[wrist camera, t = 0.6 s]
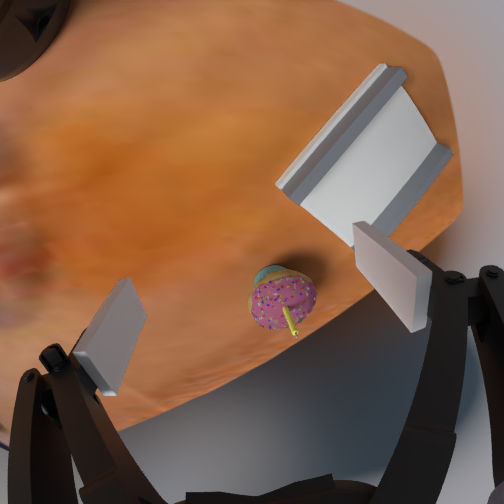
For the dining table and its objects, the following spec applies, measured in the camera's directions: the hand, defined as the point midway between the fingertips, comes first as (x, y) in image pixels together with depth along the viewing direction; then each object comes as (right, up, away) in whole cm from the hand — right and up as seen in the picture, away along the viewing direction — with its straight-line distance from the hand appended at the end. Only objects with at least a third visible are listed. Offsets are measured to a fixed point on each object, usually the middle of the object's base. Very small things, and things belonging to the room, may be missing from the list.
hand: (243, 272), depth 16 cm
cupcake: (+3, -2, +23) cm, 23 cm away
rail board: (+15, +12, +16) cm, 25 cm away
